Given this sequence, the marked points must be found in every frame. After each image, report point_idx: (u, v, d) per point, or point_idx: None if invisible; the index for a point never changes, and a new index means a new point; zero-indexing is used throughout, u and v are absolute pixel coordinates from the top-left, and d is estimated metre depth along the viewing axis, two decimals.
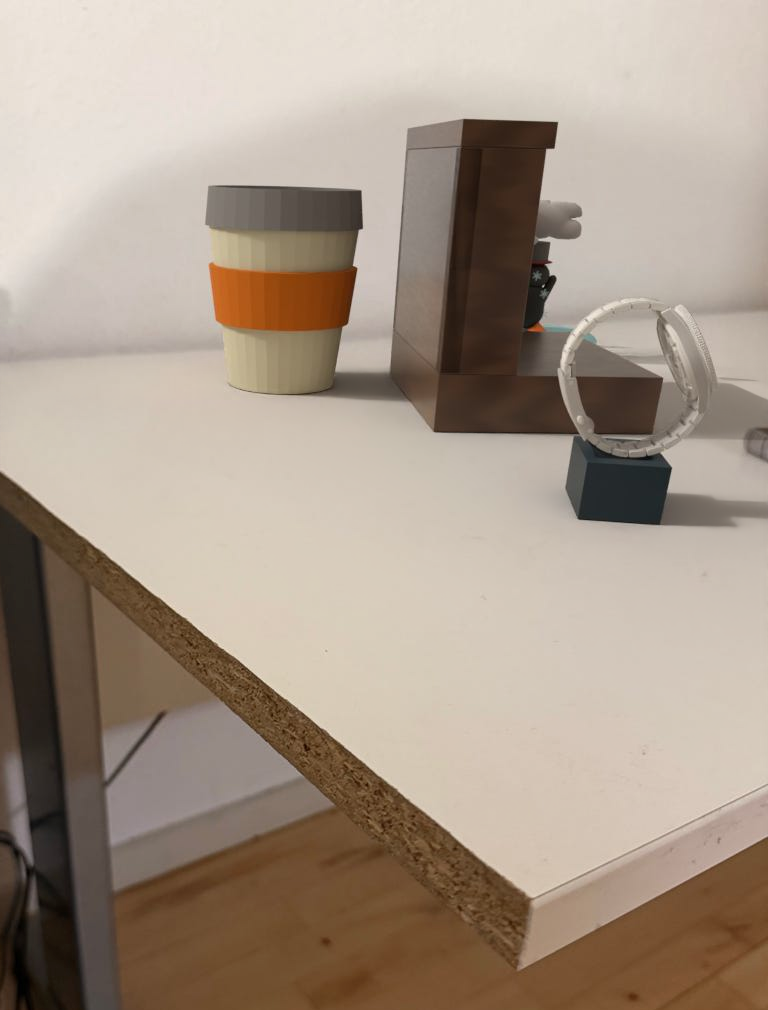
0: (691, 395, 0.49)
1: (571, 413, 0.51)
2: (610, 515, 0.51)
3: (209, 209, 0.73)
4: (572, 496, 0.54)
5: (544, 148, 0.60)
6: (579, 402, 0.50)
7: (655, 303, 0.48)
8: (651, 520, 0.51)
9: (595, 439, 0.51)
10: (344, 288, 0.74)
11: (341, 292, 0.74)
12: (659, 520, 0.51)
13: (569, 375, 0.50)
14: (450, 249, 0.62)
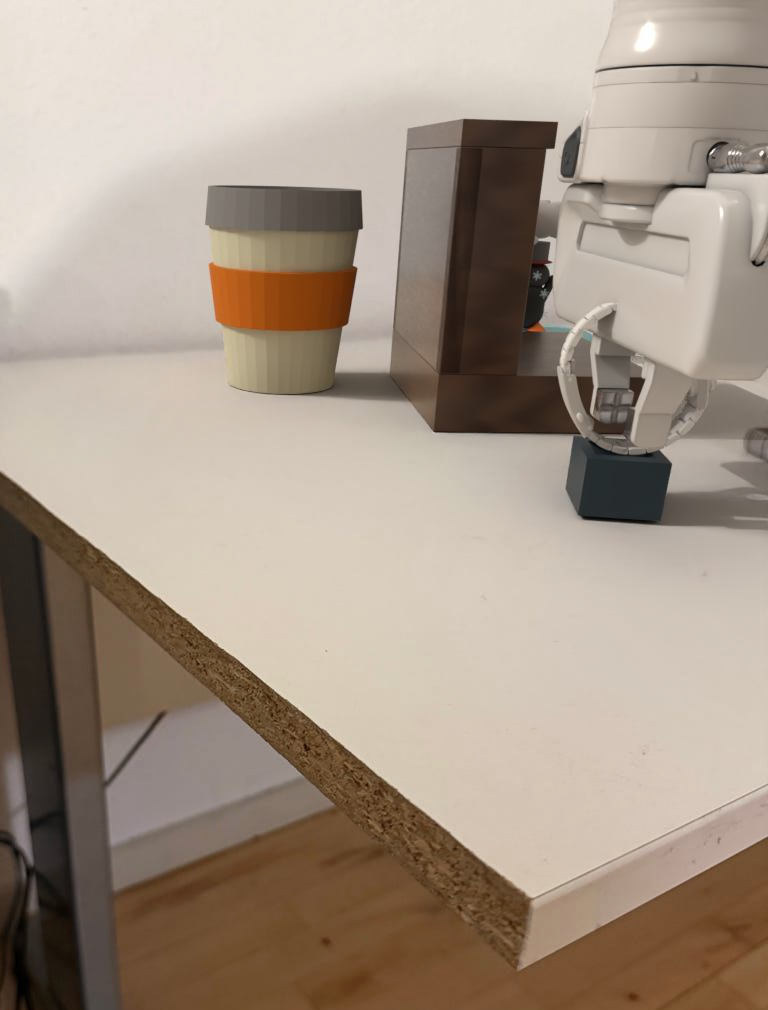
0: (690, 391, 0.49)
1: (571, 410, 0.51)
2: (610, 512, 0.51)
3: (209, 209, 0.73)
4: (572, 495, 0.53)
5: (544, 148, 0.60)
6: (578, 399, 0.50)
7: None
8: (652, 517, 0.51)
9: (595, 436, 0.51)
10: (344, 288, 0.74)
11: (341, 292, 0.74)
12: (660, 517, 0.51)
13: (568, 372, 0.50)
14: (450, 249, 0.62)
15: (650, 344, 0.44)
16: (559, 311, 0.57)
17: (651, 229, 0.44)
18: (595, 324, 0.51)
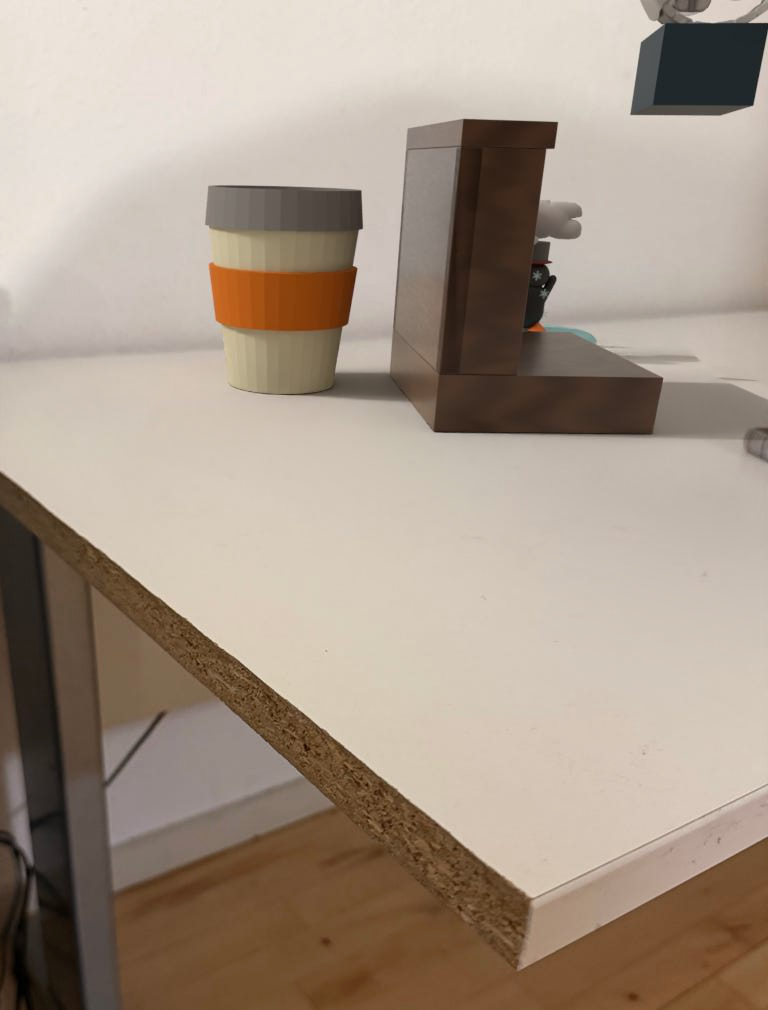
0: None
1: None
2: (692, 97, 0.42)
3: (209, 209, 0.73)
4: (642, 100, 0.45)
5: (544, 148, 0.60)
6: None
7: None
8: (743, 100, 0.42)
9: (672, 9, 0.43)
10: (344, 288, 0.74)
11: (341, 292, 0.74)
12: (752, 100, 0.42)
13: None
14: (450, 249, 0.62)
15: None
16: None
17: None
18: None
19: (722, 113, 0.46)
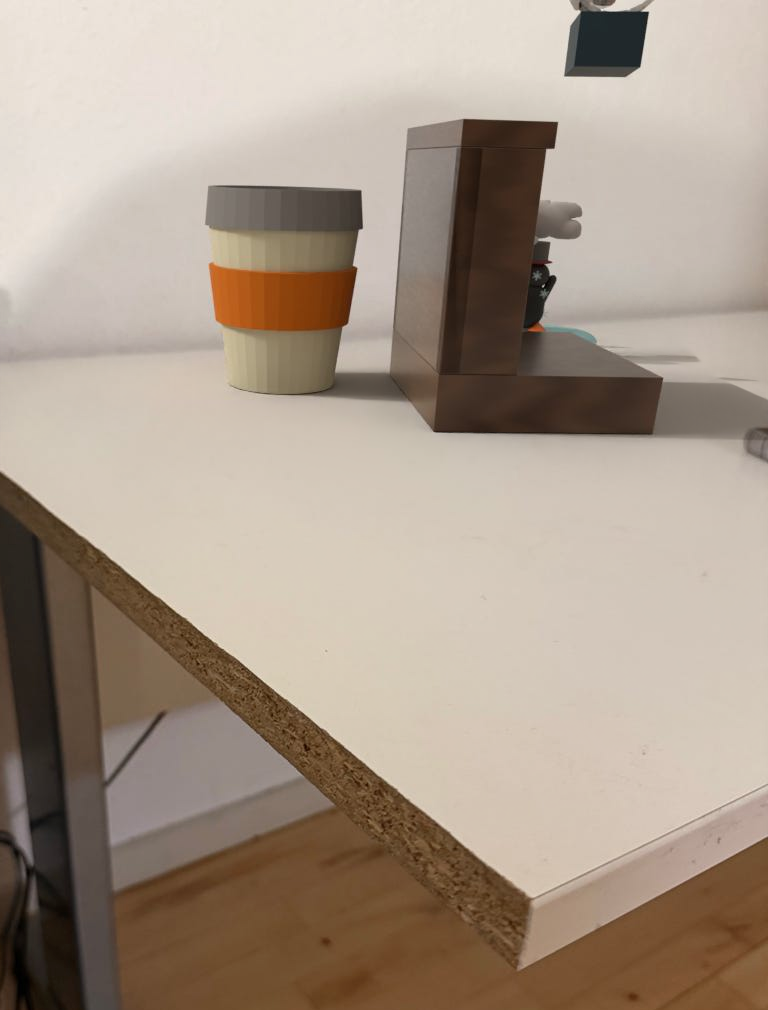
0: None
1: None
2: (600, 61, 0.63)
3: (209, 209, 0.73)
4: (569, 64, 0.66)
5: (544, 148, 0.60)
6: None
7: None
8: (633, 63, 0.63)
9: (587, 2, 0.64)
10: (344, 287, 0.74)
11: (341, 292, 0.74)
12: (640, 63, 0.63)
13: None
14: (450, 249, 0.62)
15: None
16: None
17: None
18: None
19: (625, 75, 0.67)
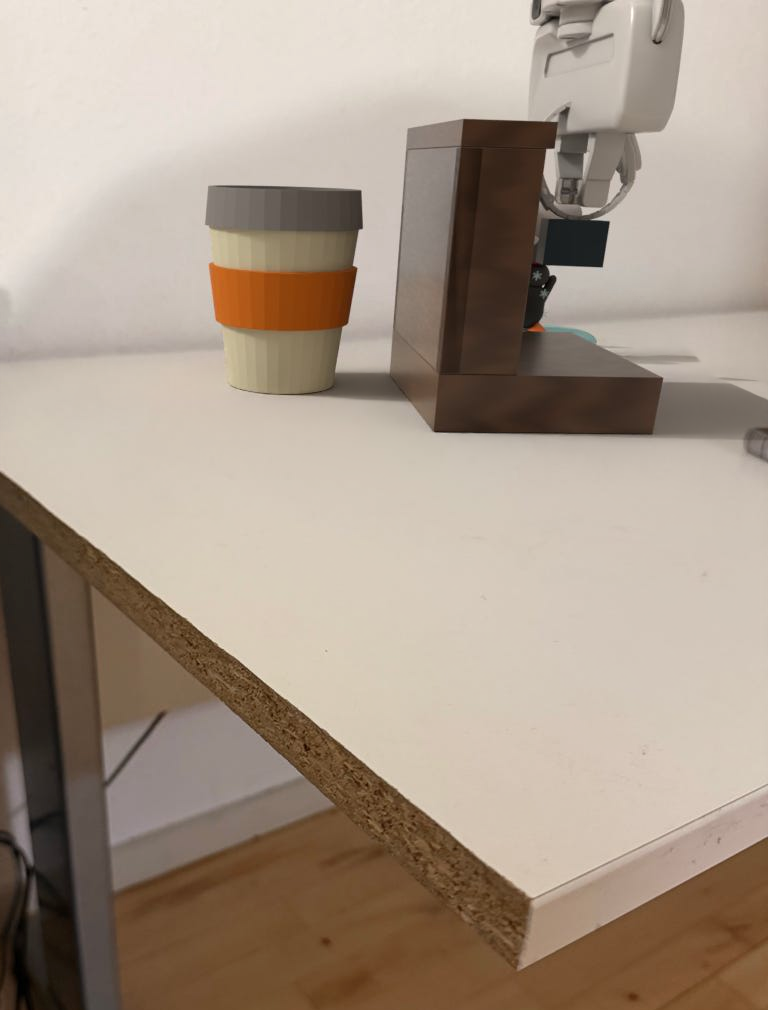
0: (623, 168, 0.68)
1: None
2: (566, 261, 0.70)
3: (209, 209, 0.73)
4: (540, 257, 0.72)
5: (544, 148, 0.60)
6: (543, 177, 0.69)
7: None
8: (596, 264, 0.70)
9: (555, 207, 0.70)
10: (344, 287, 0.74)
11: (341, 292, 0.74)
12: (602, 264, 0.70)
13: None
14: (450, 249, 0.62)
15: (590, 119, 0.63)
16: None
17: (591, 37, 0.63)
18: None
19: None
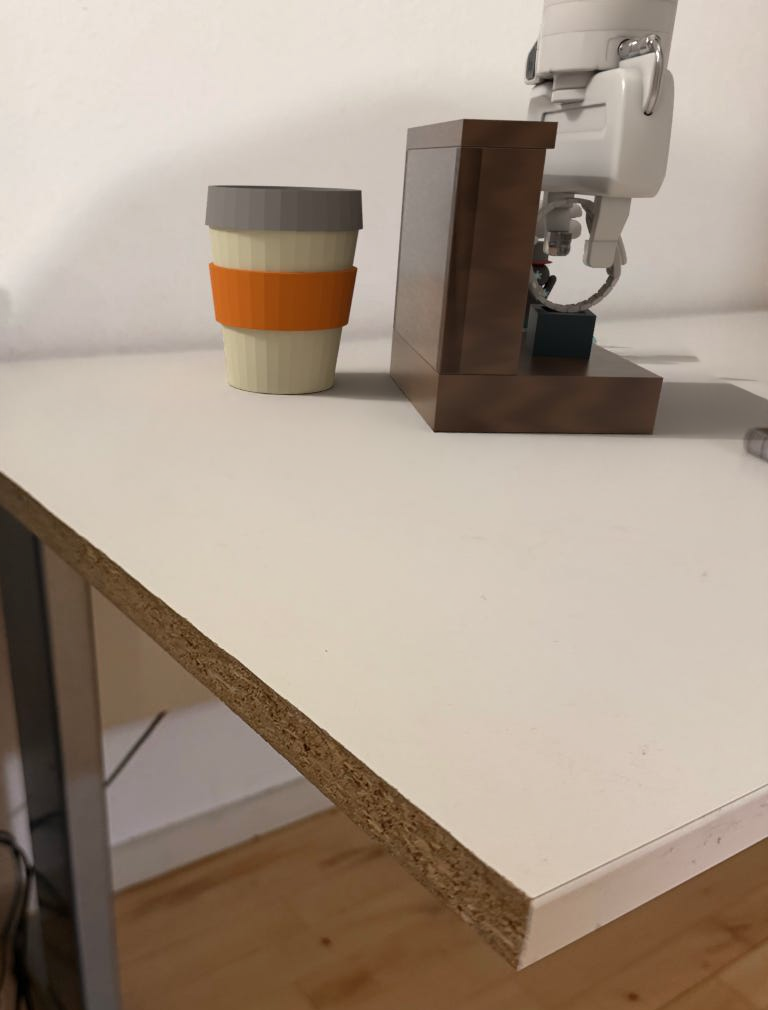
0: None
1: None
2: (555, 352, 0.73)
3: (209, 209, 0.73)
4: (529, 344, 0.75)
5: (544, 148, 0.60)
6: (532, 272, 0.72)
7: (582, 199, 0.69)
8: (583, 355, 0.73)
9: (544, 299, 0.73)
10: (344, 288, 0.74)
11: (341, 292, 0.74)
12: (589, 355, 0.72)
13: None
14: (450, 249, 0.62)
15: (585, 183, 0.65)
16: None
17: (584, 104, 0.65)
18: (552, 183, 0.72)
19: None
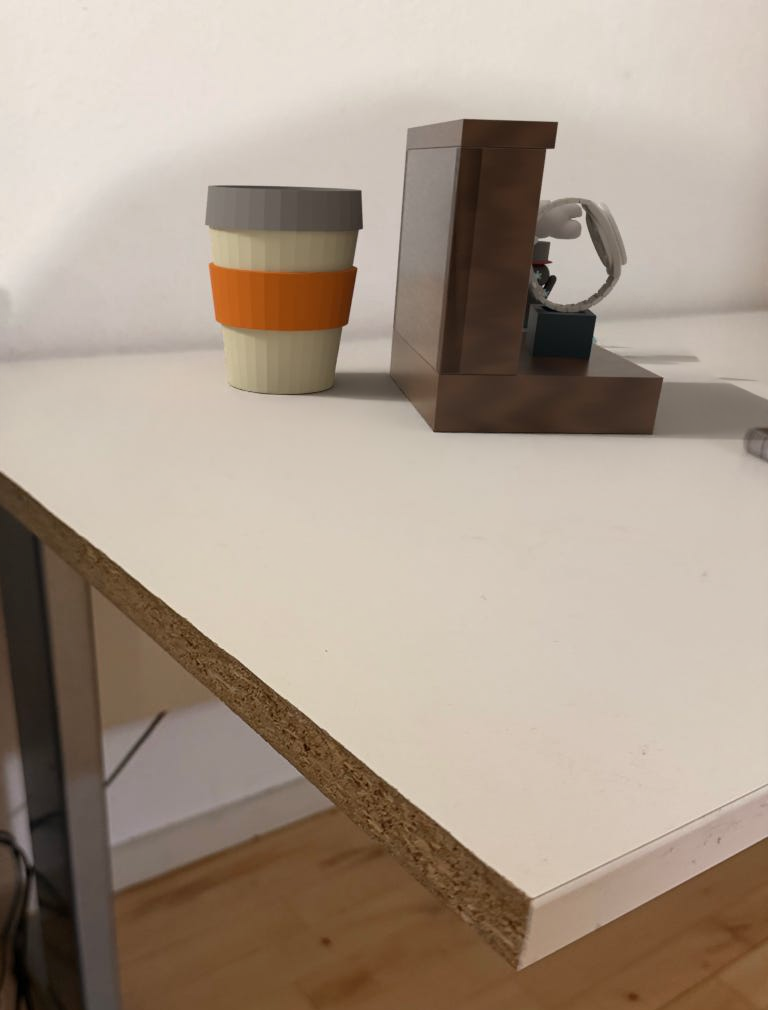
0: (609, 264, 0.71)
1: None
2: (555, 352, 0.73)
3: (209, 209, 0.73)
4: (529, 344, 0.75)
5: (544, 148, 0.60)
6: (532, 272, 0.72)
7: (582, 199, 0.69)
8: (583, 355, 0.73)
9: (544, 299, 0.73)
10: (344, 288, 0.74)
11: (341, 292, 0.74)
12: (589, 355, 0.72)
13: None
14: (450, 249, 0.62)
15: None
16: None
17: None
18: None
19: None
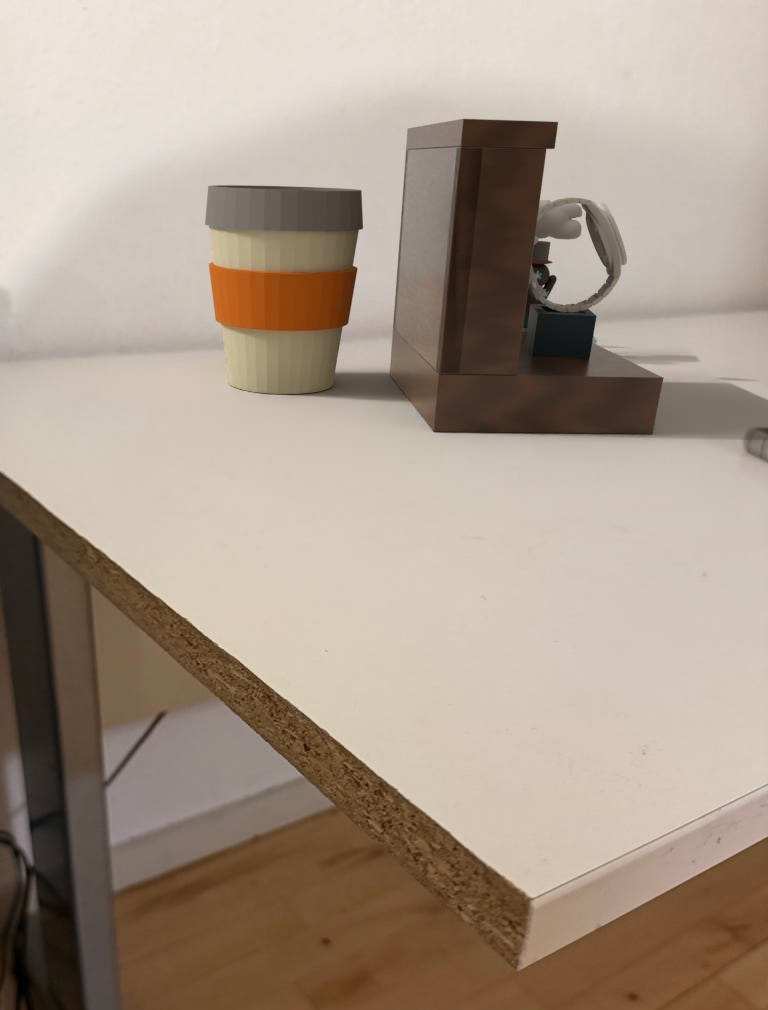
0: (609, 265, 0.71)
1: None
2: (555, 352, 0.73)
3: (209, 209, 0.73)
4: (529, 344, 0.75)
5: (544, 148, 0.60)
6: (532, 272, 0.72)
7: (582, 199, 0.69)
8: (583, 355, 0.73)
9: (544, 299, 0.73)
10: (344, 288, 0.74)
11: (341, 292, 0.74)
12: (589, 355, 0.72)
13: None
14: (450, 249, 0.62)
15: None
16: None
17: None
18: None
19: None
